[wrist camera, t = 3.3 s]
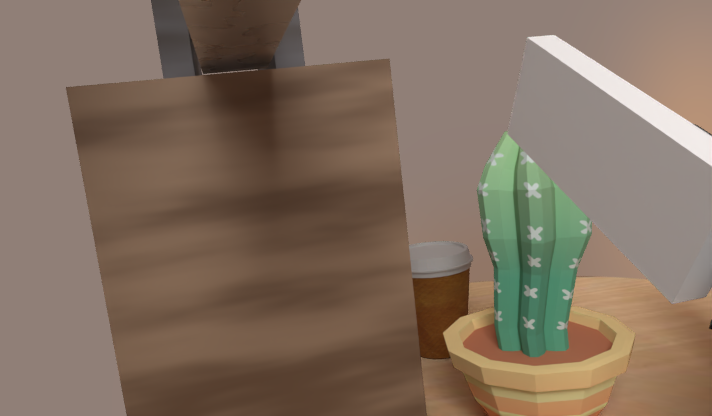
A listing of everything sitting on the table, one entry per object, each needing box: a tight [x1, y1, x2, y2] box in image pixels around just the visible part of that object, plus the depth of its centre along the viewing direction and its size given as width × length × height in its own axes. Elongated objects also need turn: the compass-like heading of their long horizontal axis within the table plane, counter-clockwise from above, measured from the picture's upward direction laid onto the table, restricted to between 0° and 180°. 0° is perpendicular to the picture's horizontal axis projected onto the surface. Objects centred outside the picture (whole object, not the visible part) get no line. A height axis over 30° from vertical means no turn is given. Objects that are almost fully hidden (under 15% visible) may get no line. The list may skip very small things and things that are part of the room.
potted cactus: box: [443, 131, 635, 416], centre depth 45 cm, size 15×15×25 cm
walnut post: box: [66, 0, 427, 416], centre depth 38 cm, size 18×16×35 cm
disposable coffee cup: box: [409, 241, 473, 359], centre depth 64 cm, size 10×10×12 cm
